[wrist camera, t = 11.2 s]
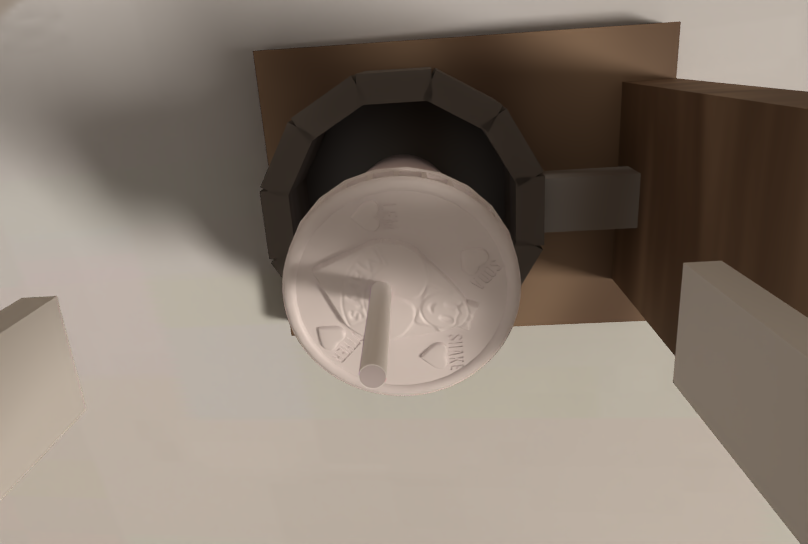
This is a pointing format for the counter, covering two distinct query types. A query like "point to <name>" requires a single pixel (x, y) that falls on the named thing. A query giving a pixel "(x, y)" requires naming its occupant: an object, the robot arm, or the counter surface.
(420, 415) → the counter surface
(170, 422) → the counter surface
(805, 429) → the robot arm
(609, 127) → the cup bracket
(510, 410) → the counter surface
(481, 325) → the smoothie
